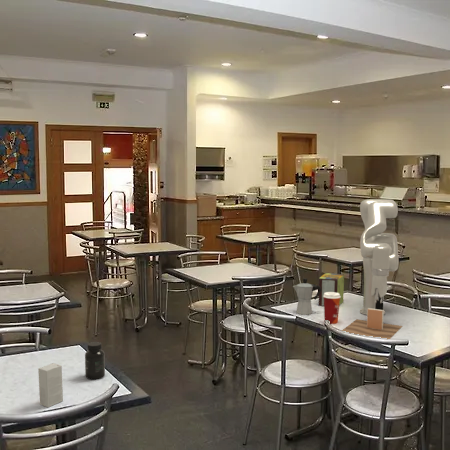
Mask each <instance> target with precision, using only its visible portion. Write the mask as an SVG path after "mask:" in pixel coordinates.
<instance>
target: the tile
mask: <svg viewBox="0 0 450 450" xmlns="http://www.w3.org/2000/svg"><path fill="white" fill-rule="evenodd" d="M384 311H385V310H384V309H383V310H379V309H372V308H368V311H367V315H366V316H367V317H366V321H367V328H372V329H378V330H383V323H384V315H385V314H384ZM383 314H384V315H383Z"/></svg>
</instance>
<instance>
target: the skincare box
mask: <svg viewBox="0 0 450 450" xmlns="http://www.w3.org/2000/svg"><path fill="white" fill-rule="evenodd" d="M62 368H63V367H62V365H61V364H57V363H54V362H53V363H50V364H47V365H44V366H41V367H39V368H37V369H38V386H39V387H38V389H39V390H38V391H39V404H40V406H43V407H45V408H50V407H53V406H55V405H57V404H59V403H61V402H63V401H64V395H63V390H64V389H63V371H62Z"/></svg>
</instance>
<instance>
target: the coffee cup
mask: <svg viewBox="0 0 450 450" xmlns="http://www.w3.org/2000/svg"><path fill="white" fill-rule="evenodd" d="M323 297H324V306H323V312H324V313H323V315H324V321H325V320H329V321H330V325H335V324H338V323H339V311H340V305H339V302H340V294H339V293H336V292H326V293H324V295H323Z"/></svg>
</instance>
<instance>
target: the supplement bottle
mask: <svg viewBox="0 0 450 450" xmlns="http://www.w3.org/2000/svg"><path fill="white" fill-rule="evenodd" d="M102 348H103V347H102V342H100V341H99V342H98V341H92V342H88V343H87V351H86V352H85V353H84V368H85V369H84V371H85V372H84V374H85V375H84V376H85V378H86V379H87V380H91V381H92V380H94V381H96V380H101V379H103V378H104V377H105V375H106V361H105V359H106V358H105V351H104V350H102Z"/></svg>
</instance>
